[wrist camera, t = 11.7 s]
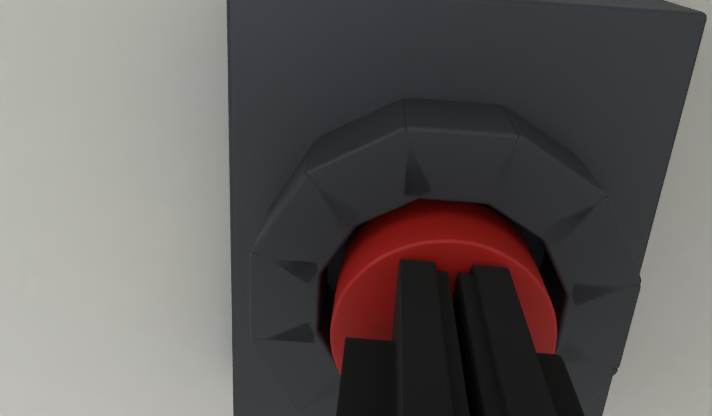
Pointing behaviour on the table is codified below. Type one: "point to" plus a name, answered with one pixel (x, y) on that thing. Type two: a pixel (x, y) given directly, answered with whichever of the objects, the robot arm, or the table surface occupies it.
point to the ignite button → (449, 252)
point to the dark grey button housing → (444, 160)
